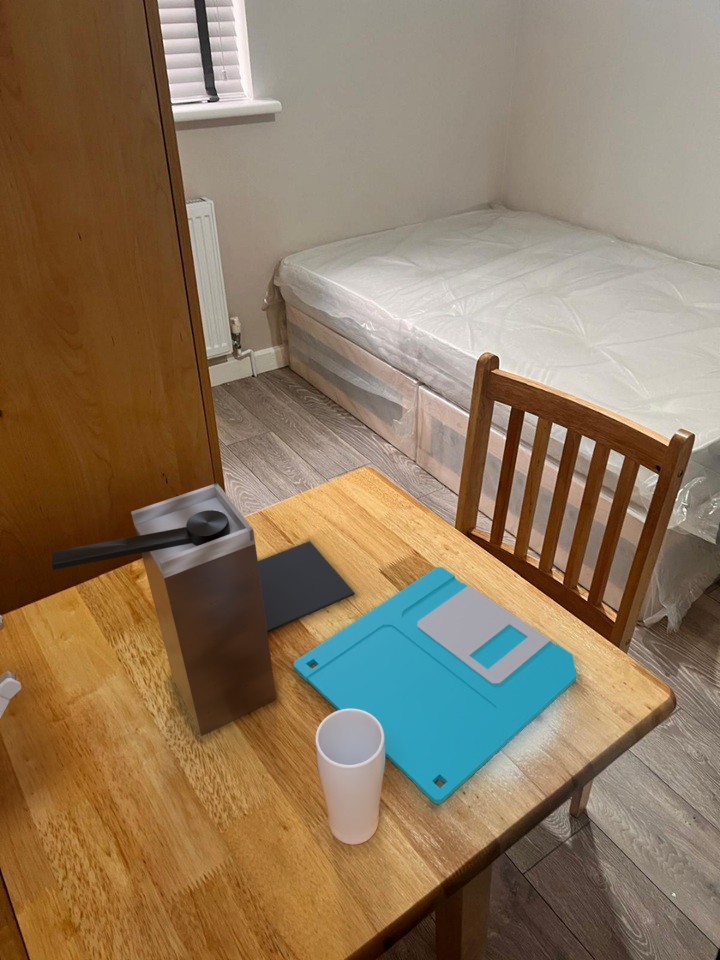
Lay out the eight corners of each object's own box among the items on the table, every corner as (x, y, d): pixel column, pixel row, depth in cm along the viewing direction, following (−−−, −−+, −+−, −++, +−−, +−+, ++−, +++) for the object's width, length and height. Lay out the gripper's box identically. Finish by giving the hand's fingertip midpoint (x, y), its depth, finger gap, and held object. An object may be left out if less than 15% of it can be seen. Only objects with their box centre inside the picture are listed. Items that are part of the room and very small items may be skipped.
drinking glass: (348, 867, 74) (344, 781, 66) (309, 819, 79) (300, 732, 70) (398, 826, 78) (400, 739, 69) (358, 782, 82) (354, 695, 74)
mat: (199, 662, 97) (199, 660, 97) (165, 599, 107) (164, 597, 107) (354, 594, 107) (354, 592, 107) (309, 542, 117) (309, 540, 117)
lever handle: (52, 577, 73) (48, 565, 72) (54, 550, 76) (50, 538, 75) (232, 542, 77) (230, 530, 76) (227, 518, 80) (225, 506, 79)
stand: (201, 736, 88) (160, 563, 72) (173, 680, 95) (130, 511, 79) (276, 700, 92) (253, 529, 76) (244, 648, 99) (217, 482, 83)
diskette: (291, 668, 96) (291, 663, 95) (439, 570, 111) (439, 565, 110) (437, 807, 79) (438, 802, 79) (587, 670, 94) (588, 665, 94)
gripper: (-125, 822, 62) (-2, 708, 63) (-134, 665, 77) (-33, 574, 78) (-62, 837, 67) (52, 731, 68) (-82, 686, 81) (13, 600, 82)
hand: (6, 646), depth 73 cm, fingers open, 8 cm apart
